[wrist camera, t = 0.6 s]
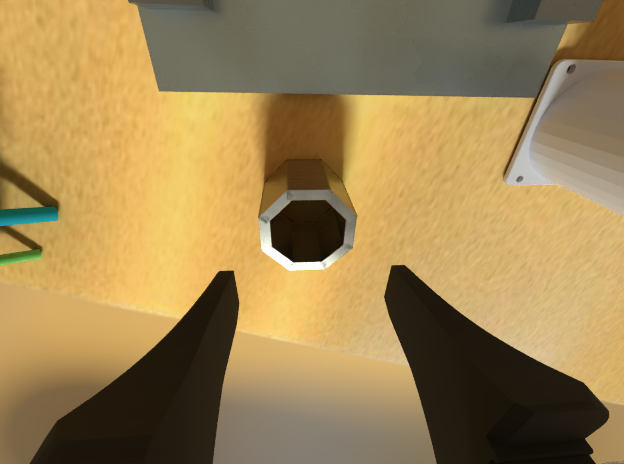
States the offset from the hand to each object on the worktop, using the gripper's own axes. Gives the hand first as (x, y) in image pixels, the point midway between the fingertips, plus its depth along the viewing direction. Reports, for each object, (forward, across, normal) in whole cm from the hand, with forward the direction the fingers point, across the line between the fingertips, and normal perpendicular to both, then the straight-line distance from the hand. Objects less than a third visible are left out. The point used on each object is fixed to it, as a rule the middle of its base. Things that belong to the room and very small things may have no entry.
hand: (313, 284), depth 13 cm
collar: (+9, 0, 0) cm, 9 cm away
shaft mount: (+9, -3, -14) cm, 17 cm away
